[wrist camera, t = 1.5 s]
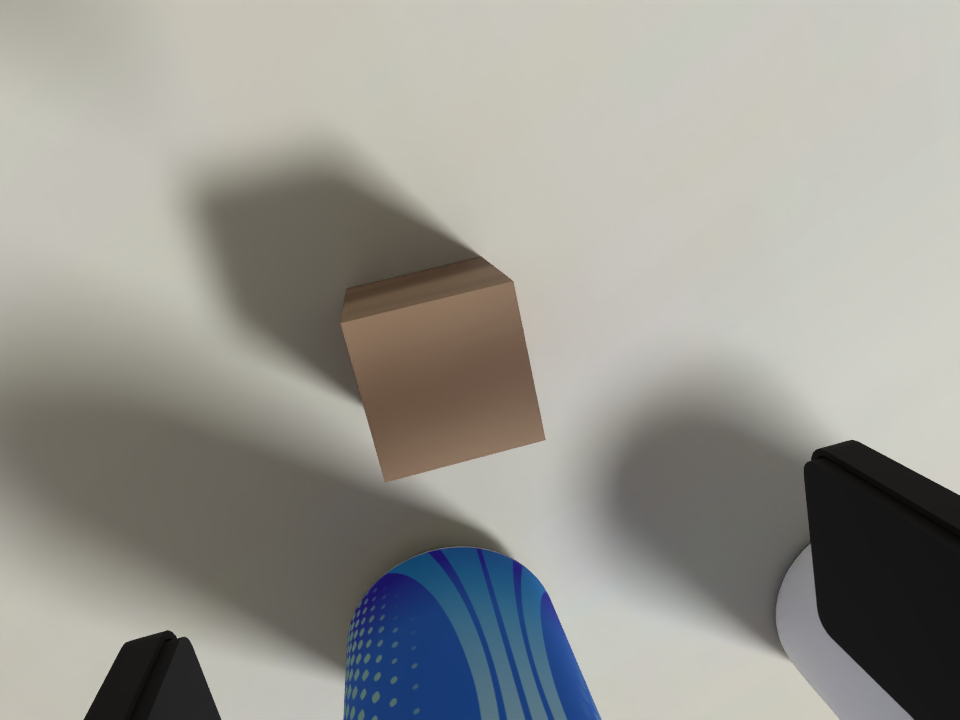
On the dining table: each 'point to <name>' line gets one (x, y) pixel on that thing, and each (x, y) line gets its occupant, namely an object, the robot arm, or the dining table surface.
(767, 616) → the dining table surface
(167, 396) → the dining table surface
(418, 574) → the beer can
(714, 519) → the dining table surface
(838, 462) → the robot arm
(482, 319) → the walnut block
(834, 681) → the mug
